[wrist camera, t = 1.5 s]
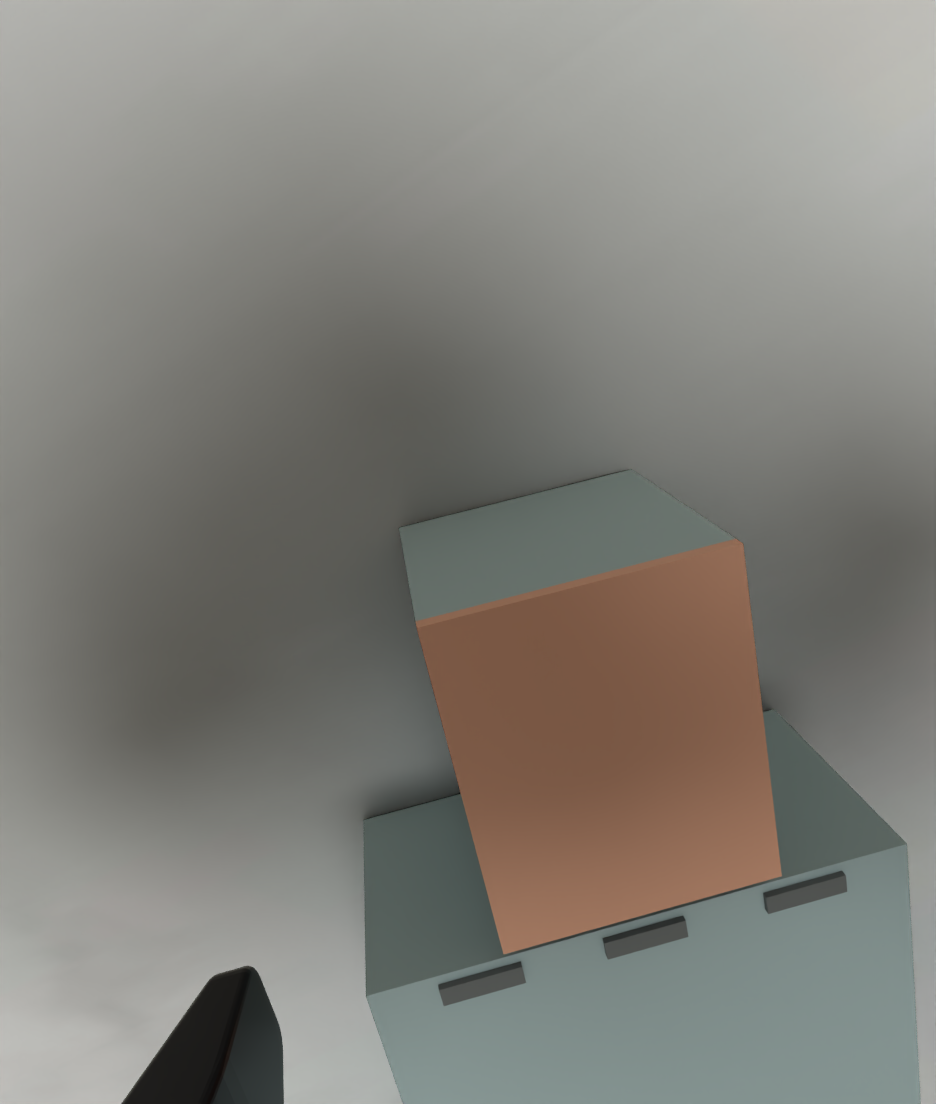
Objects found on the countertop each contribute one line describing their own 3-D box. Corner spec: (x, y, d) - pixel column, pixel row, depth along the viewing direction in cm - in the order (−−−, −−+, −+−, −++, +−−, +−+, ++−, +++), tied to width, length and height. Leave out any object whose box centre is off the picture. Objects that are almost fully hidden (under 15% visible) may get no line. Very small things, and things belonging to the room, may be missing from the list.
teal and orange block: (631, 468, 14) (744, 543, 10) (672, 724, 15) (782, 876, 11) (398, 527, 14) (417, 627, 10) (464, 779, 15) (503, 954, 11)
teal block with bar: (823, 695, 16) (1036, 881, 11) (856, 1070, 19) (1031, 1344, 14) (310, 834, 15) (289, 1096, 10) (434, 1195, 18) (464, 1525, 14)
